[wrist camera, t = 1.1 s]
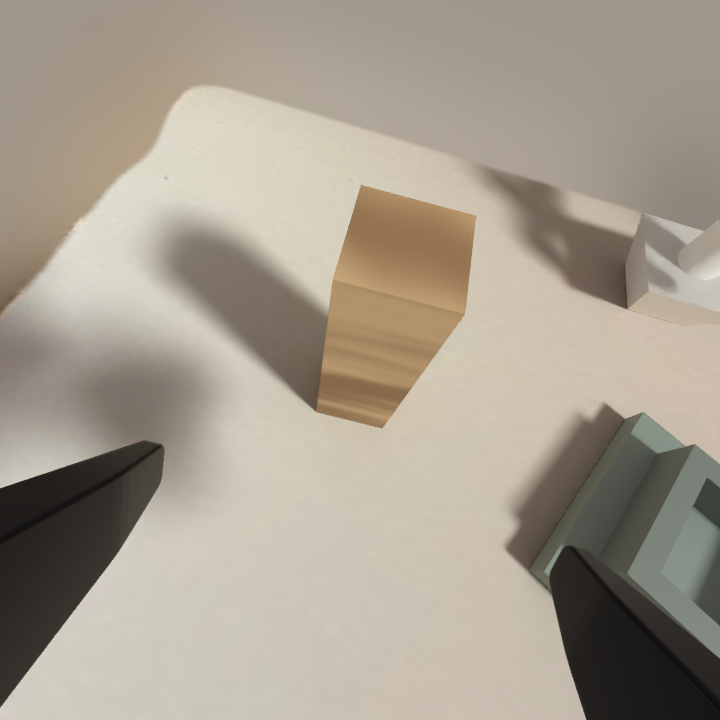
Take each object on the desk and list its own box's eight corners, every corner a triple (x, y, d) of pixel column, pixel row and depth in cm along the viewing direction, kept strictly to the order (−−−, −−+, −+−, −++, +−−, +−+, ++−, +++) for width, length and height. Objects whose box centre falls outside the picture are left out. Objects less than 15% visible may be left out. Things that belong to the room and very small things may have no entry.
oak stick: (382, 428, 23) (465, 314, 12) (315, 411, 23) (332, 279, 12) (393, 367, 25) (475, 215, 13) (332, 352, 25) (360, 185, 13)
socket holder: (730, 767, 19) (832, 819, 15) (528, 569, 21) (575, 575, 18) (798, 561, 24) (888, 565, 20) (625, 418, 26) (678, 398, 22)
